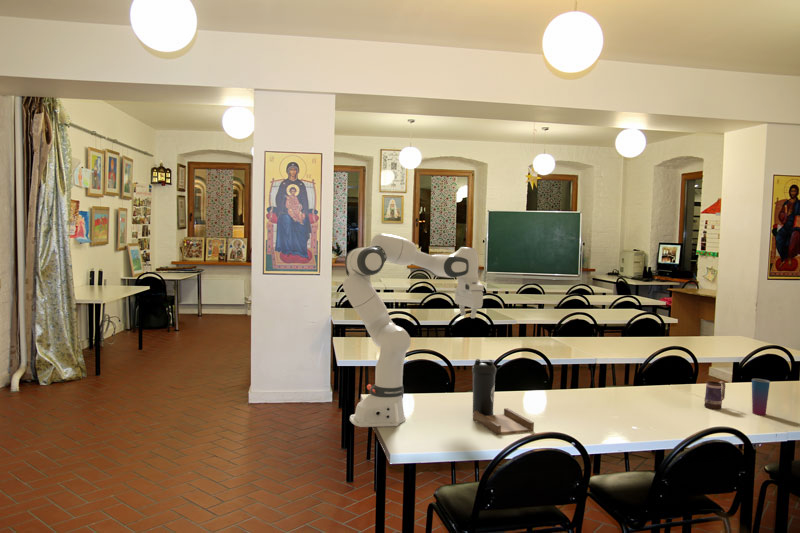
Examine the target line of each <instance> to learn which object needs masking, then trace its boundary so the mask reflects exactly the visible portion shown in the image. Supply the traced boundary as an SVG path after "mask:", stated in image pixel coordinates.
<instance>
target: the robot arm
mask: <svg viewBox="0 0 800 533" xmlns="http://www.w3.org/2000/svg"><path fill="white" fill-rule="evenodd" d="M386 262H389V263H392V264H395V265H400V266H410V265H413V266H416V267H419V268H423V269H426V270H427V271H428V272H429V273H430V274H432V275H433V276H435V277H437V278H449V279H450V278H451V279H453V278H457V285H456V288H455V292H454V303H455V304H456V305H458V307H459V310H460V316H466V313H467V312H466V310H465V307H468V308H470V310H471V312H470V314H469V317H470V318H471V319H475V318H476V314H477V312H478V309H481V308H482V307H483V305H484V304H483V303H484V284H482V283H481V282H480V280H479V274H478V272H479V253H478V251H477V249H475V248H472V247H466V246H461V247H459V249H458V250H456V251H455V252H452V253H450V254H442V253H437V254H435V253H434V254H428V253H427V252H423V251H419V250H418V249H417V246H416V244H415V242H414V241H411V240H409V239H407V238H405V237H402V236H398V235H394V234H390V233H383V232H382V233H377V234H375V235H374V236H373V237H372V239H371V241H370V244H369V246H367V247H366V246H365V247H364V246H363V247H358V248H357V247H355V248H352V249H351V250H349V251H348V252H347V254H345V257H344V267H345V273H346V275H347V277H346V278H345V279H344V280H343V282H342V288H343V291H344V293H345V295H346V298H347V299H348V302H349V304H350V305H351V306H352V308H353V309H354V311H355V312H356V314H357V316H359V318H360V320H361V322H362V323H363V325H364V326H365V329H366V331H367V333H368V334H369V337H370V338H371V341H372V342H373V343H374V344H375V346H376V347H378V348H379V356H378V360H377V362H376V364H375V372H374V373H375V376H374V377H375V382H374V384H373V385H372V384H367V385H366V388H367V390H368V391H370V392H369V394H368V395H367V396H366V397H365V398H363V399H362V400H361V401H360V402H358V403H357V405H356V408H355V413H354V414H351V415H350V416H349V421H350V423H351V424H353V425H354V426H356V427H358V428H373V427H375V428H378V427H382V428H383V427H398V426H399V425H400V424H401V423H404V422H405V421H406V415H405V410H404V403H403V398H404V384H403V378H404V377H403V376H404V364H405V358H406V354H407V351H408V350H409V348H410V346H411V336H410V334H409V333H408V331H407V330H406V329H404V328H403V327H401V326H399V325H396V323H395V322H393V320H392V319H391V317H390V314H389V313H388V309H387V306H386V305H385V303H384V301H383V300H382V298H381V297H380V295H379V294H378V292H377V290H376V289H375V288H374V287H373V285H372V282H371V276H375V275H376V274H379V273H380V272H381V270H382V269H383V267H384V266H385V263H386Z"/></svg>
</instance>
